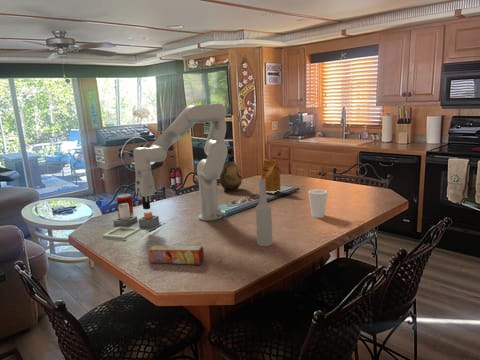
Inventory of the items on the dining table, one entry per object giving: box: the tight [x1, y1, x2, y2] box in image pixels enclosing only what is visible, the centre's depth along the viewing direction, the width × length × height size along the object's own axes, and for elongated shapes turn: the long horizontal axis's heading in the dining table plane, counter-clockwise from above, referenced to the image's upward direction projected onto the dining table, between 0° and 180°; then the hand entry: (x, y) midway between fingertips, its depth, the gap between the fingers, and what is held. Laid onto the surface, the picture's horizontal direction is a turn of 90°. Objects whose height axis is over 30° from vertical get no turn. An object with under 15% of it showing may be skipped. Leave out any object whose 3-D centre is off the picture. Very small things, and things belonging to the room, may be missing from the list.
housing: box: [112, 214, 163, 233], centre depth 184 cm, size 23×10×6 cm, turn 69°
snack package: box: [148, 245, 205, 266], centre depth 140 cm, size 21×7×7 cm, turn 78°
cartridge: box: [117, 203, 131, 221], centre depth 186 cm, size 5×5×10 cm
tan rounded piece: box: [143, 211, 153, 219], centre depth 180 cm, size 4×4×4 cm
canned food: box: [116, 193, 134, 213], centre depth 207 cm, size 8×8×11 cm
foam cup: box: [308, 188, 328, 219], centre depth 185 cm, size 10×9×13 cm
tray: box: [102, 226, 141, 243], centre depth 172 cm, size 12×12×2 cm
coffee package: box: [260, 158, 281, 191], centre depth 238 cm, size 10×12×22 cm
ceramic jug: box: [219, 146, 243, 192], centre depth 249 cm, size 17×15×30 cm
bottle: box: [255, 178, 273, 247], centre depth 151 cm, size 7×7×28 cm
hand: (146, 208), depth 179 cm, fingers closed
